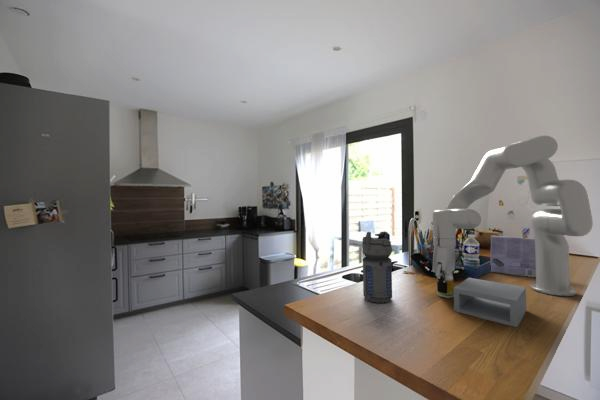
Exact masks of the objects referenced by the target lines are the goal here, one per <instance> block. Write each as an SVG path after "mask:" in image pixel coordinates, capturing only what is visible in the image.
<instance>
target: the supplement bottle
mask: <svg viewBox="0 0 600 400" xmlns="http://www.w3.org/2000/svg"><path fill="white" fill-rule="evenodd" d="M441 273H443V274H444V272H441ZM450 274H451V273H449V274H447V276H446V282H447V293H446V294H445V293H441V292H438V291H437V295H438V296H440V297H442V298H448V299H449V298H454V287H455V286H454V276H453V277H452V276H451V275H450ZM441 276H443V278H444V275H441Z"/></svg>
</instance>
